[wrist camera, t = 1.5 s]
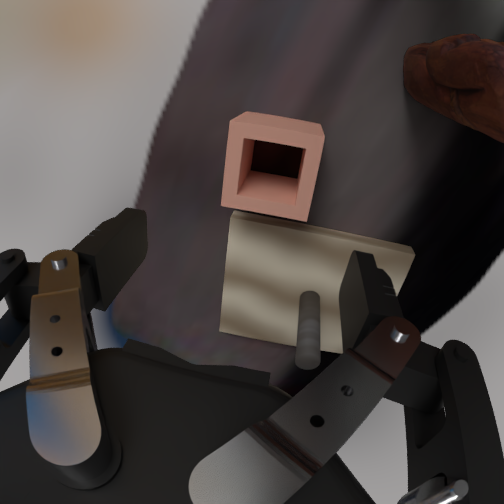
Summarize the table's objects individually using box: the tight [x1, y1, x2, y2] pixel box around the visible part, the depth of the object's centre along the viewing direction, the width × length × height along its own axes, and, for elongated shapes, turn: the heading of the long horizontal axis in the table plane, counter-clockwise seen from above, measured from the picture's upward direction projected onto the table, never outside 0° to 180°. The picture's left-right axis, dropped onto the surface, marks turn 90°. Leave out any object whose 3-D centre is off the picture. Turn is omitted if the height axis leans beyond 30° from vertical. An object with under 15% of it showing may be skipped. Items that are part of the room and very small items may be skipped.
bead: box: [221, 111, 325, 222], centre depth 23 cm, size 6×6×6 cm
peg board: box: [219, 211, 415, 370], centre depth 28 cm, size 14×17×10 cm
